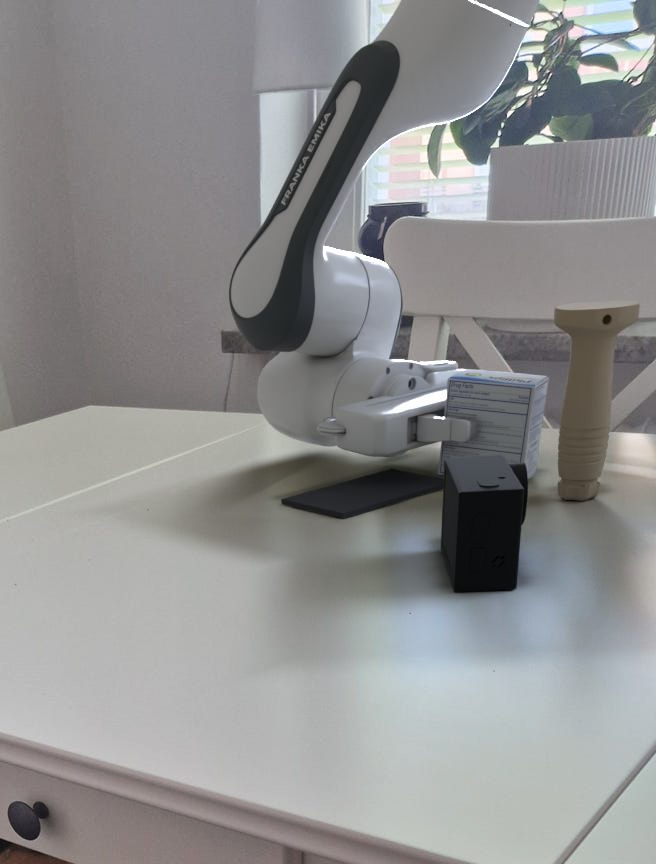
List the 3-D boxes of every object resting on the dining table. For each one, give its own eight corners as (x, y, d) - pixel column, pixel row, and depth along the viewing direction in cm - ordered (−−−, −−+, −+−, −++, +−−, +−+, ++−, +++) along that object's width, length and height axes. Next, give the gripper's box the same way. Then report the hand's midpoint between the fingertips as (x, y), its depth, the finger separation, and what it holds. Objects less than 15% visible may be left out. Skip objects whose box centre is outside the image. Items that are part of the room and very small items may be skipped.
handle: (625, 500, 97) (649, 304, 90) (549, 507, 97) (567, 311, 90) (604, 487, 101) (625, 298, 94) (531, 493, 101) (546, 305, 94)
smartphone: (391, 473, 111) (391, 468, 111) (455, 485, 106) (455, 480, 105) (281, 504, 105) (280, 498, 104) (343, 518, 99) (342, 513, 99)
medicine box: (535, 476, 106) (551, 375, 101) (521, 487, 103) (536, 384, 98) (452, 465, 110) (464, 367, 105) (436, 476, 106) (447, 375, 102)
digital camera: (534, 590, 80) (543, 486, 76) (454, 593, 81) (459, 491, 77) (512, 546, 89) (520, 452, 85) (440, 549, 89) (444, 456, 86)
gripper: (305, 391, 106) (418, 406, 97) (457, 357, 116) (573, 367, 107) (307, 462, 110) (415, 483, 100) (454, 423, 120) (567, 439, 110)
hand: (498, 423), depth 103 cm, fingers closed on medicine box, 5 cm apart
